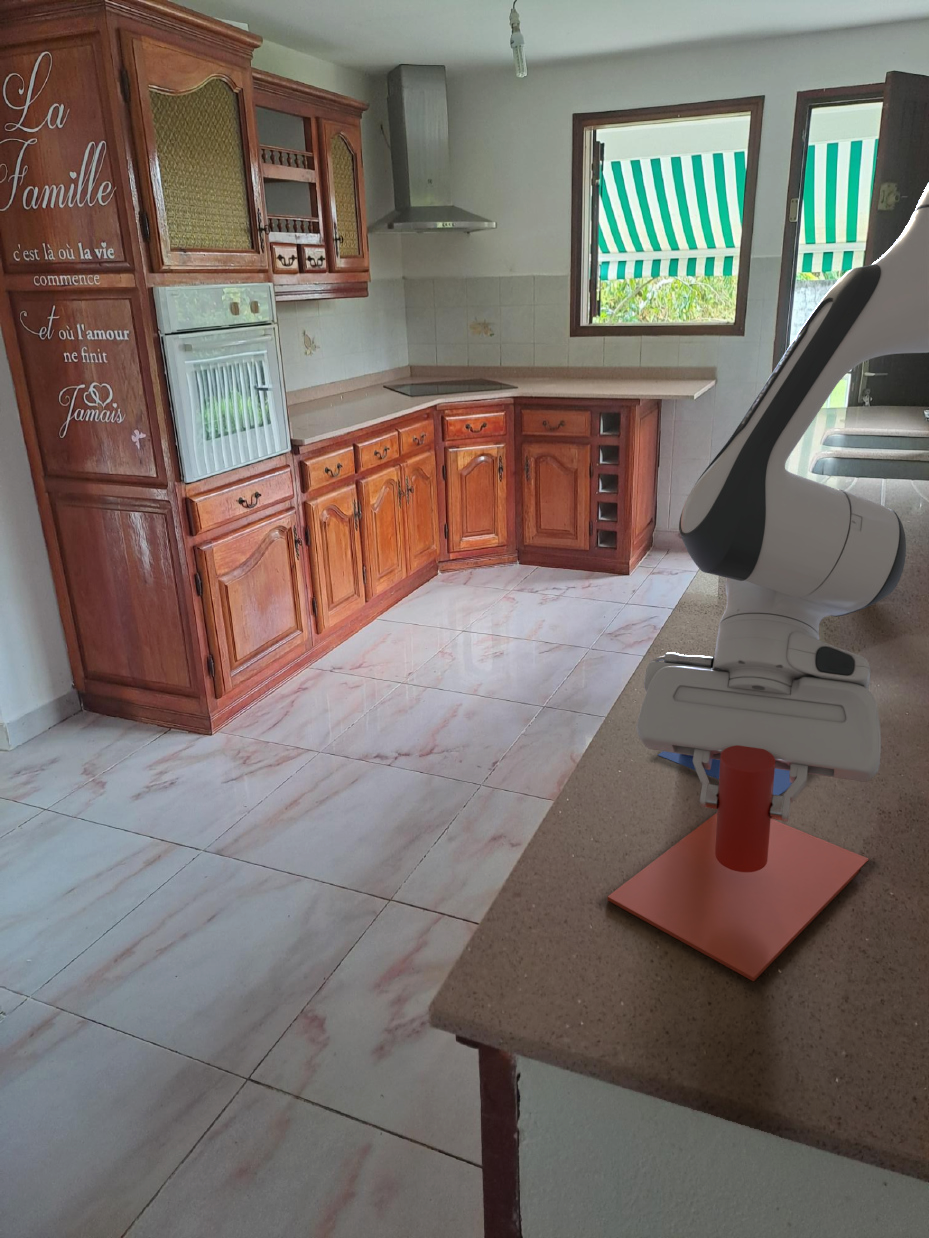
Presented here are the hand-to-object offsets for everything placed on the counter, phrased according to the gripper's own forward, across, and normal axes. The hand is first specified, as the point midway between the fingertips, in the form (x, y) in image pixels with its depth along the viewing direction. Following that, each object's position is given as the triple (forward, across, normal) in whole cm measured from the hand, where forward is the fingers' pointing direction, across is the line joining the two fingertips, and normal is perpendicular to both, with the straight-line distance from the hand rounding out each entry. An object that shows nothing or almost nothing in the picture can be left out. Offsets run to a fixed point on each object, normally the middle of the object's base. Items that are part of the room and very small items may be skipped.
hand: (743, 812), depth 75 cm
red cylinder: (+3, 0, +4) cm, 5 cm away
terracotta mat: (+5, 0, +6) cm, 8 cm away
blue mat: (-13, -1, +24) cm, 27 cm away
